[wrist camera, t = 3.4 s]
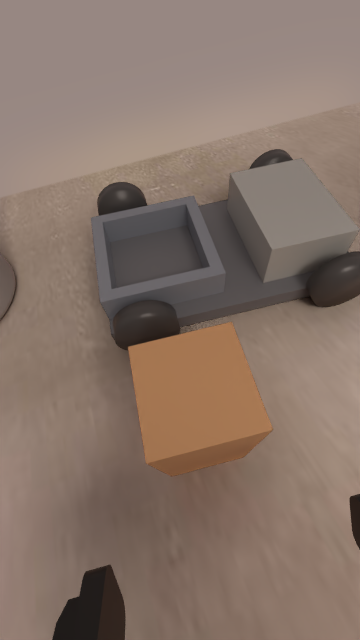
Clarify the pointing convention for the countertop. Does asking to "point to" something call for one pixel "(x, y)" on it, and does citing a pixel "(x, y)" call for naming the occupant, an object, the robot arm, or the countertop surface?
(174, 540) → the countertop surface
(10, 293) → the cylinder vase
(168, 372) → the orange rectangular block
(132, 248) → the toy car chassis
